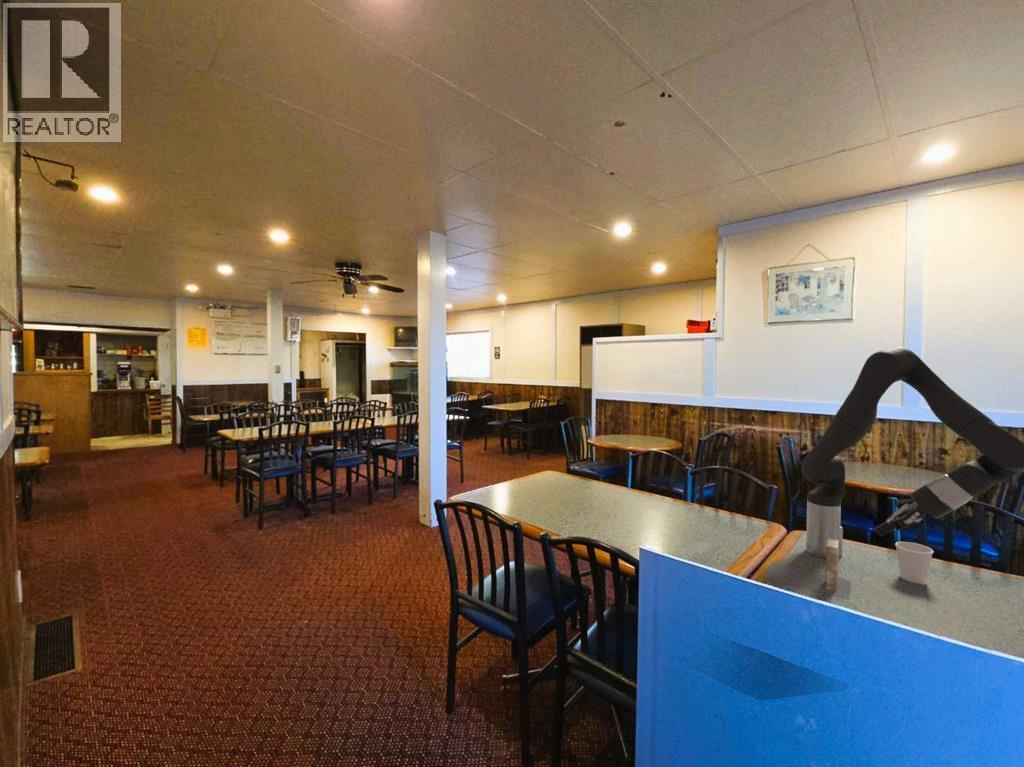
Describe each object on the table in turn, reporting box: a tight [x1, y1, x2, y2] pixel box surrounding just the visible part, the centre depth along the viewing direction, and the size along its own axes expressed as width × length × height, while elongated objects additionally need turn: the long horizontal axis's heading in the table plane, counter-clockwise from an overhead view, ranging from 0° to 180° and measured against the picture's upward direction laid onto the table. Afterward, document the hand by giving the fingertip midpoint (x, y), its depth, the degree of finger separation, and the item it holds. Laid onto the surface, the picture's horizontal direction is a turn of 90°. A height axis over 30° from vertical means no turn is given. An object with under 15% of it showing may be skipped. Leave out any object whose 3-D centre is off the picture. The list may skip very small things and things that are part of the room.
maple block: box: [825, 539, 839, 591], centre depth 126 cm, size 2×7×12 cm, turn 141°
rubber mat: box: [763, 561, 852, 600], centre depth 130 cm, size 20×14×1 cm
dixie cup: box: [894, 541, 934, 586], centre depth 130 cm, size 8×8×10 cm
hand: (877, 533), depth 119 cm, fingers closed
